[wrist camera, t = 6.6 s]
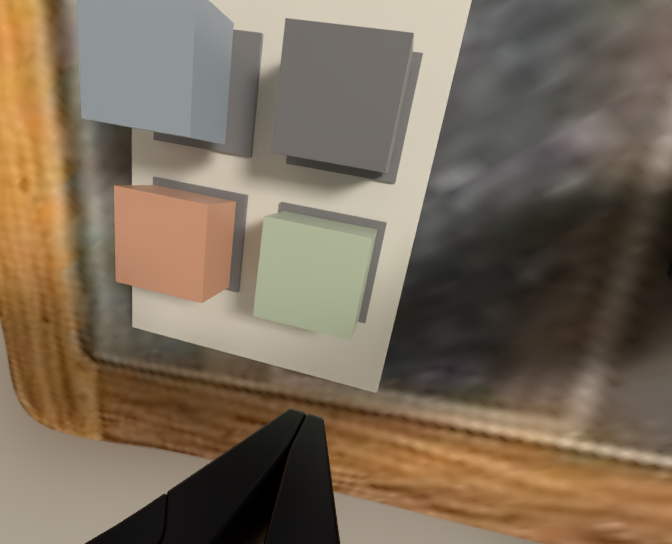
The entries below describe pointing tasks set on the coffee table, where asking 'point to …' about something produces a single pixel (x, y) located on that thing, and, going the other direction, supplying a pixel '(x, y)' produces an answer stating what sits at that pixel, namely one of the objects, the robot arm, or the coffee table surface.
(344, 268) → the sage key
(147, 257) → the terracotta key
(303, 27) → the charcoal key
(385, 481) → the coffee table surface
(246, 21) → the keypad board
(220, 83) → the slate key
